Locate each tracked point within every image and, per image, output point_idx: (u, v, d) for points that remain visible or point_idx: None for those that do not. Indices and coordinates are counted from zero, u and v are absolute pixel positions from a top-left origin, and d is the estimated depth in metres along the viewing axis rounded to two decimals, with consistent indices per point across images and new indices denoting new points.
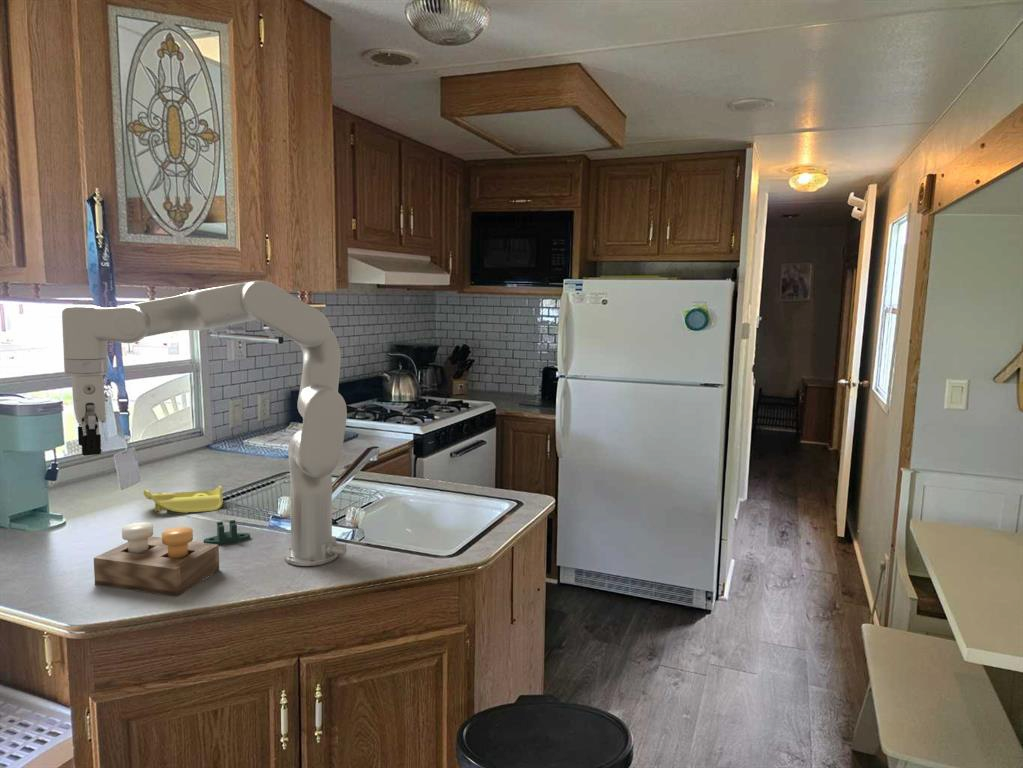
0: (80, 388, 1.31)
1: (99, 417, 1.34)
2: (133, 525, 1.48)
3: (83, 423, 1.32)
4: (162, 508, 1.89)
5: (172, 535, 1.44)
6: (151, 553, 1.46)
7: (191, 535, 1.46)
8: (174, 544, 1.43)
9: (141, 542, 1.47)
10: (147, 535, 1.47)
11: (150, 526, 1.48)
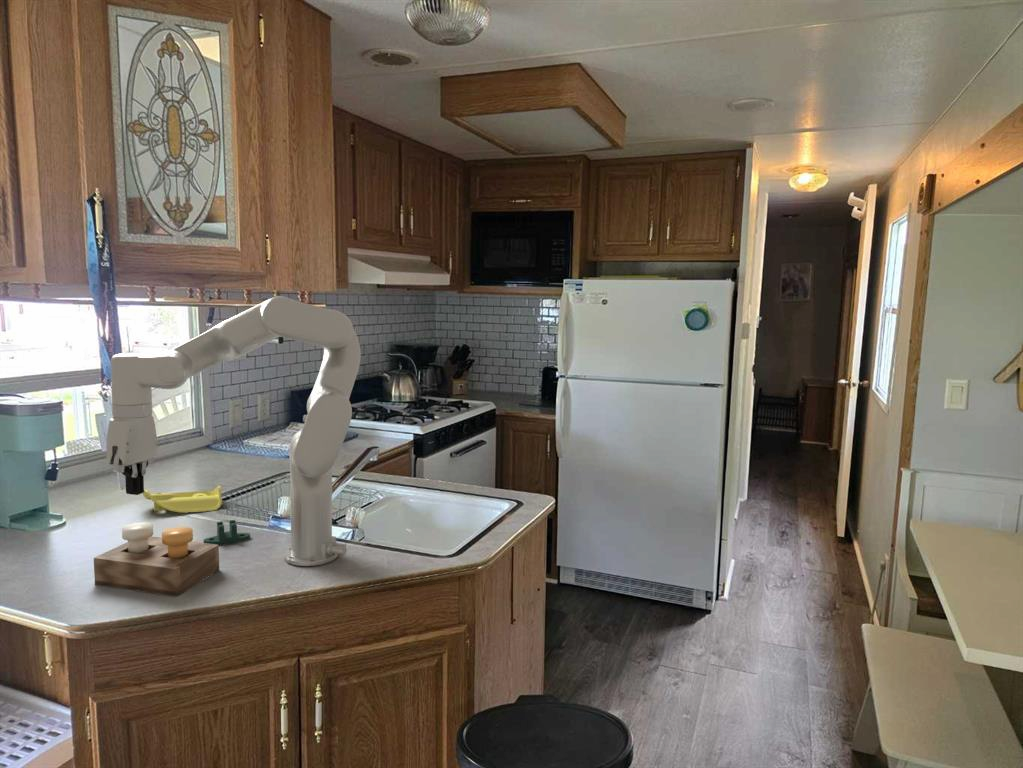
0: None
1: None
2: (133, 525, 1.48)
3: None
4: (161, 508, 1.89)
5: (172, 535, 1.44)
6: (151, 553, 1.46)
7: (191, 535, 1.46)
8: (174, 544, 1.43)
9: (141, 542, 1.47)
10: (147, 535, 1.47)
11: (150, 526, 1.48)
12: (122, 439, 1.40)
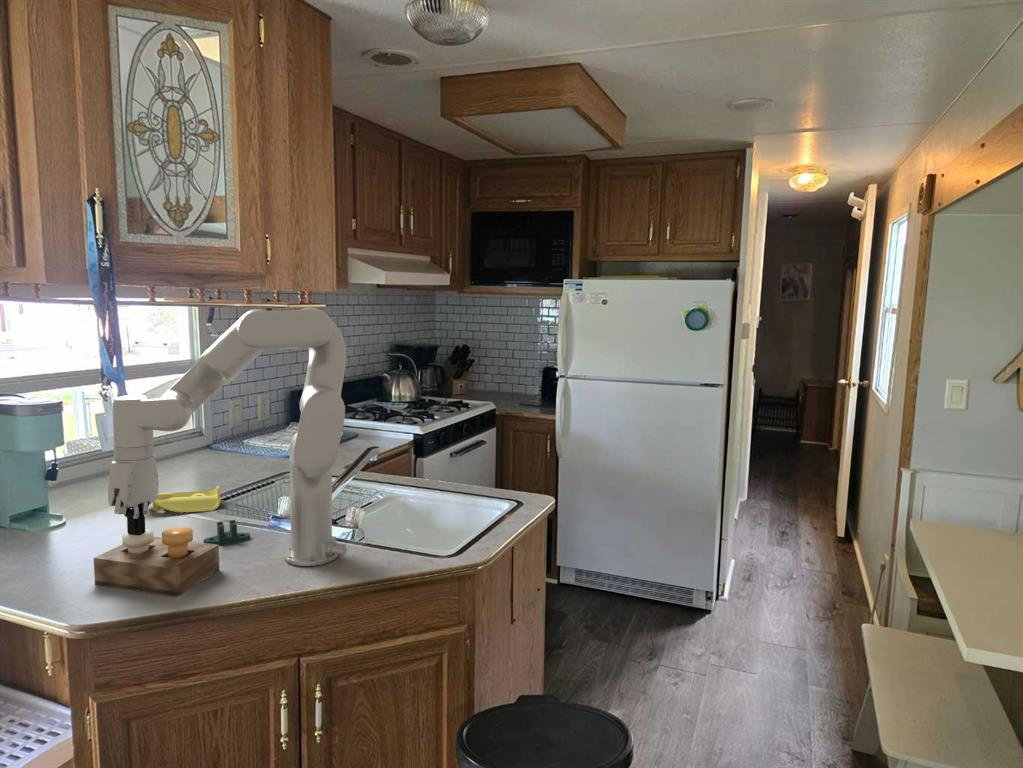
0: None
1: None
2: None
3: None
4: (159, 508, 1.89)
5: (172, 535, 1.44)
6: (151, 553, 1.46)
7: (191, 535, 1.46)
8: (174, 544, 1.43)
9: (141, 548, 1.47)
10: (147, 542, 1.47)
11: (150, 533, 1.48)
12: (124, 482, 1.41)
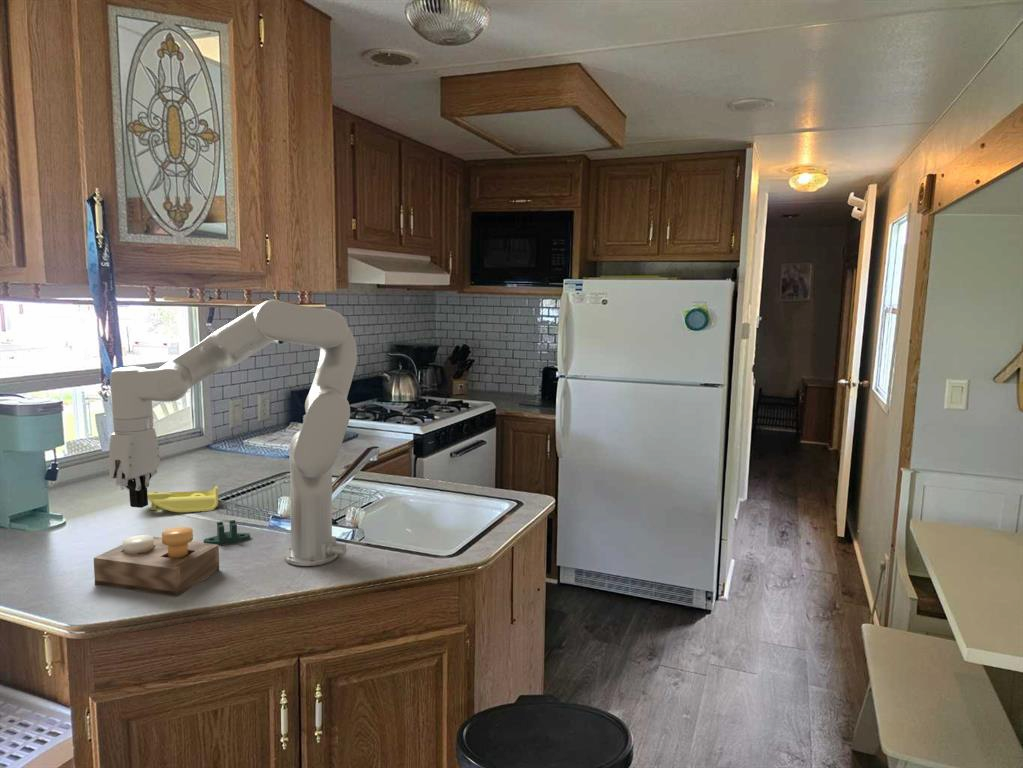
0: None
1: None
2: (133, 538, 1.49)
3: None
4: (158, 507, 1.89)
5: (172, 535, 1.44)
6: (151, 553, 1.46)
7: (191, 535, 1.46)
8: (174, 544, 1.43)
9: None
10: (148, 548, 1.47)
11: (151, 539, 1.49)
12: (124, 453, 1.41)
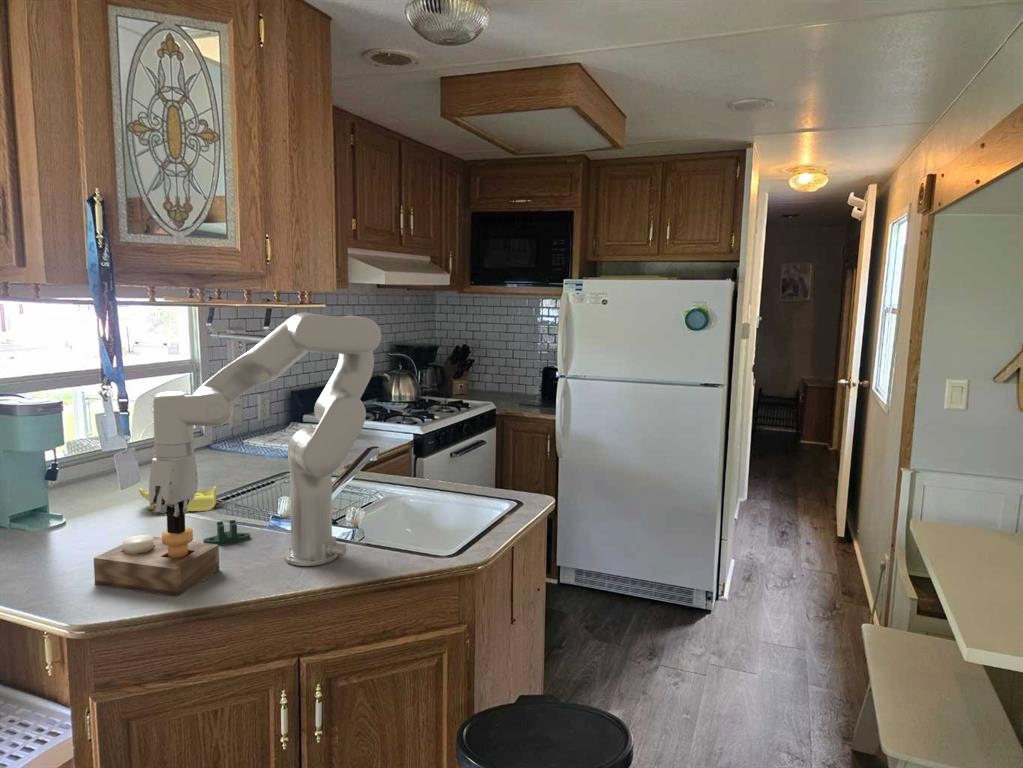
0: None
1: None
2: (133, 538, 1.49)
3: None
4: None
5: (172, 535, 1.44)
6: (151, 553, 1.46)
7: (191, 535, 1.46)
8: (174, 544, 1.43)
9: None
10: (148, 548, 1.47)
11: (151, 539, 1.49)
12: (165, 479, 1.39)
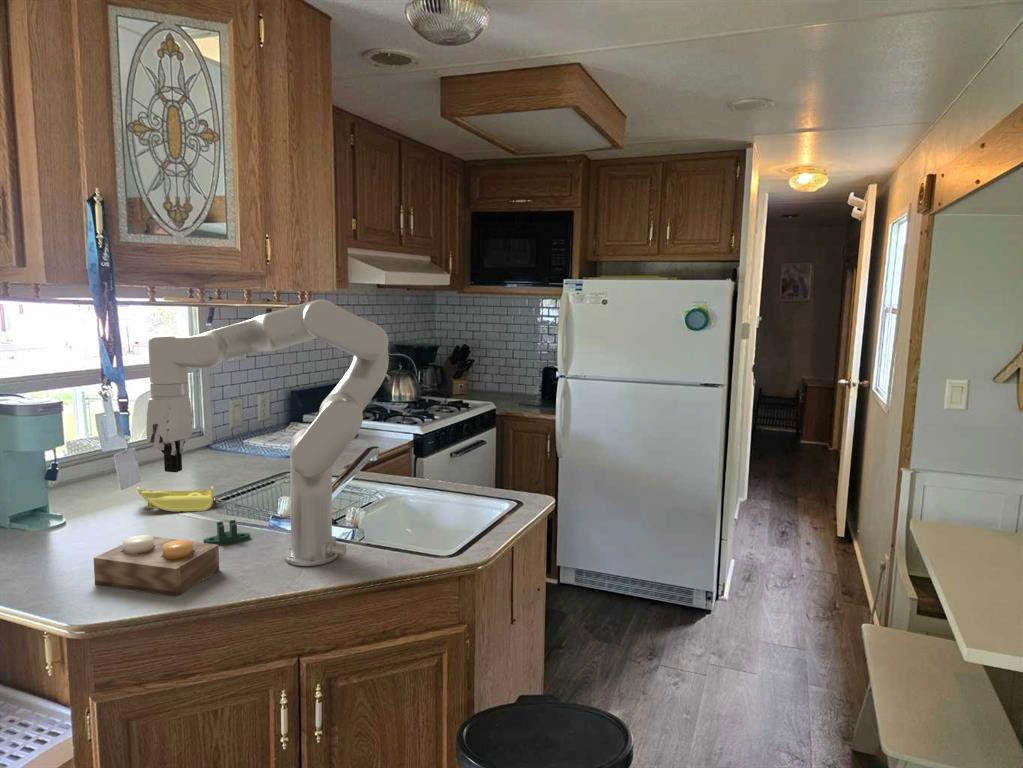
0: None
1: None
2: (133, 538, 1.49)
3: None
4: (153, 506, 1.91)
5: (173, 548, 1.44)
6: (151, 553, 1.46)
7: (191, 548, 1.46)
8: (174, 557, 1.44)
9: None
10: (148, 548, 1.47)
11: (151, 539, 1.49)
12: (162, 417, 1.44)
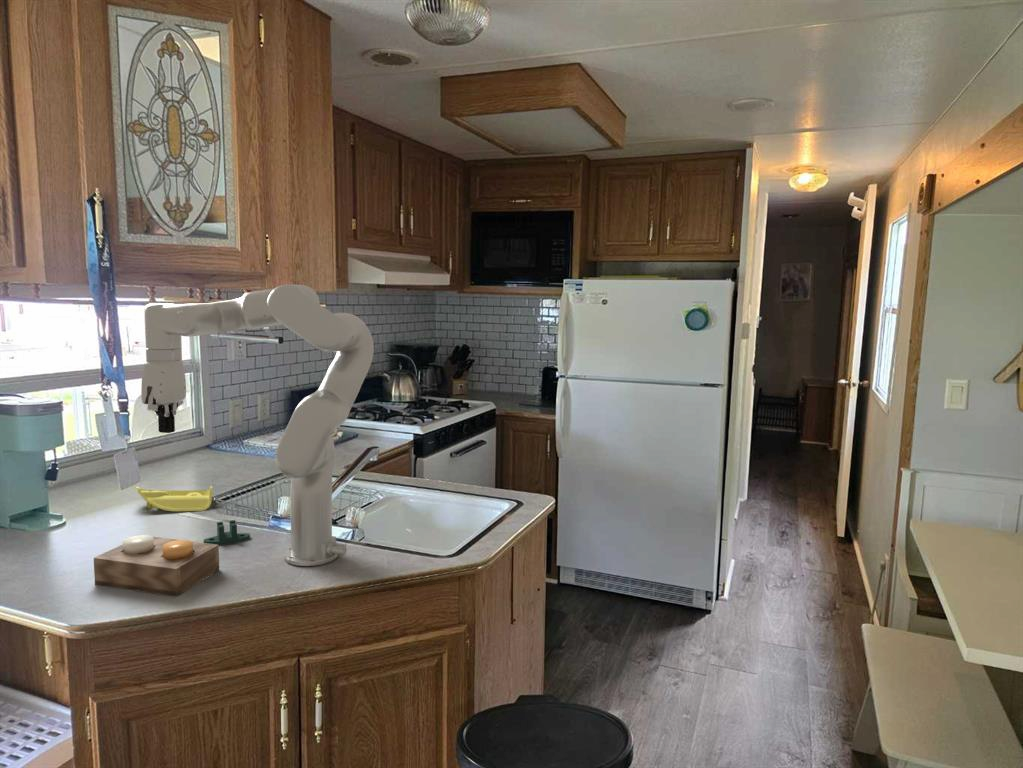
0: None
1: None
2: (133, 538, 1.49)
3: None
4: (152, 505, 1.91)
5: (173, 548, 1.44)
6: (151, 553, 1.46)
7: (191, 548, 1.46)
8: (174, 557, 1.44)
9: None
10: (148, 548, 1.47)
11: (151, 539, 1.49)
12: (156, 380, 1.54)
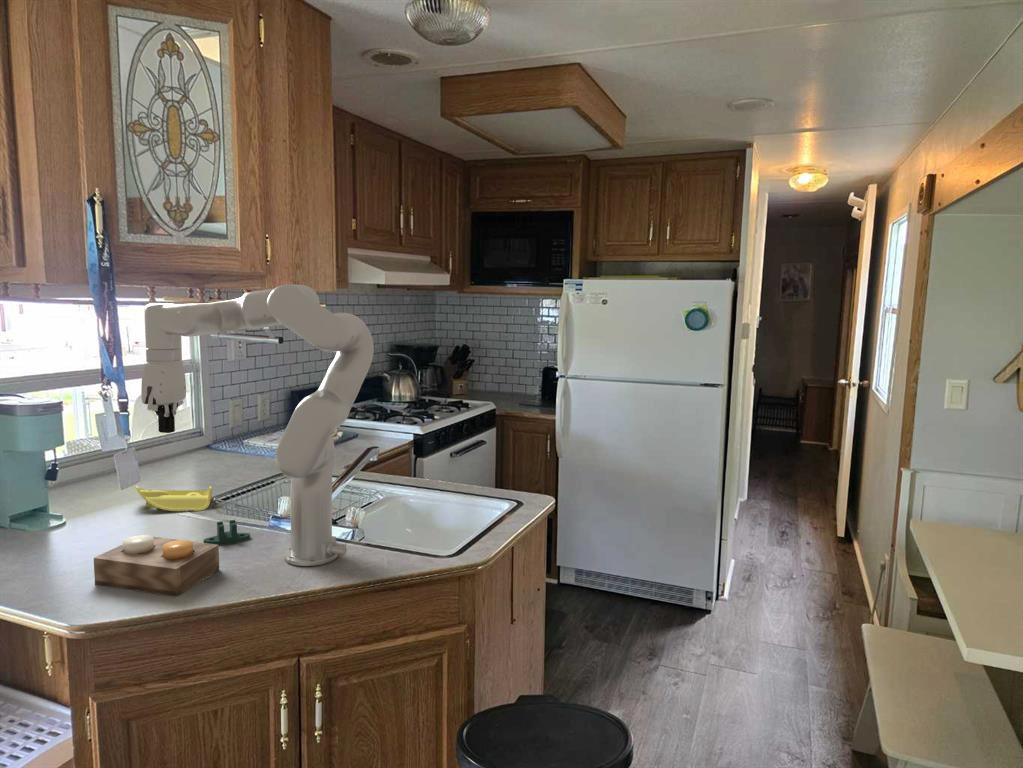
0: None
1: None
2: (133, 538, 1.49)
3: None
4: (151, 505, 1.91)
5: (173, 548, 1.44)
6: (151, 553, 1.46)
7: (191, 548, 1.46)
8: (174, 557, 1.44)
9: None
10: (148, 548, 1.47)
11: (151, 539, 1.49)
12: (156, 380, 1.54)
